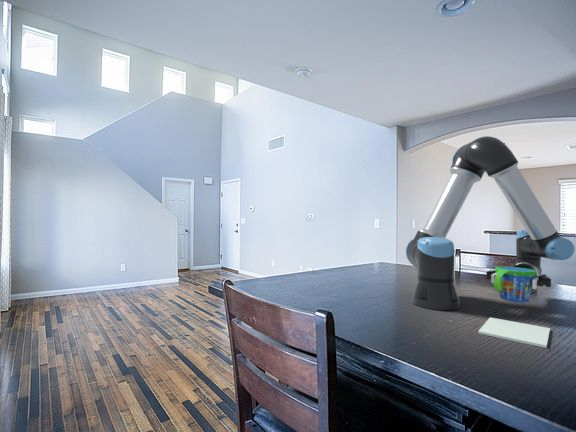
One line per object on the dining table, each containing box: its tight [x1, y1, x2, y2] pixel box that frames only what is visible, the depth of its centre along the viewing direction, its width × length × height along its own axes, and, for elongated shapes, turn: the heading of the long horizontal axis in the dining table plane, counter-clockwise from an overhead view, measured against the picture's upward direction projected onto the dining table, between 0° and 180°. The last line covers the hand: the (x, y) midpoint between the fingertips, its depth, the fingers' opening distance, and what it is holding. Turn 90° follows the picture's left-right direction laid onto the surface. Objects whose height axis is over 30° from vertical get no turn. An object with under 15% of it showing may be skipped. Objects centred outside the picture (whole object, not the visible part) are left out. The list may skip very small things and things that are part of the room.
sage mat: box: [477, 317, 551, 349], centre depth 85 cm, size 16×14×1 cm
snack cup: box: [493, 266, 537, 304], centre depth 101 cm, size 16×10×10 cm
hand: (512, 281), depth 98 cm, fingers closed on snack cup, 10 cm apart
